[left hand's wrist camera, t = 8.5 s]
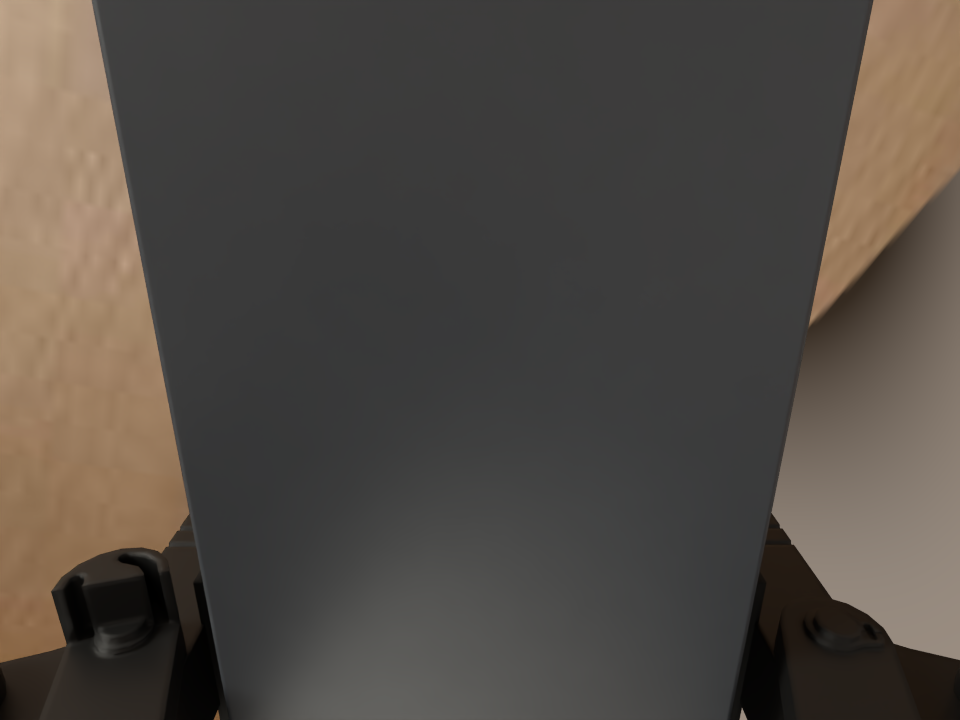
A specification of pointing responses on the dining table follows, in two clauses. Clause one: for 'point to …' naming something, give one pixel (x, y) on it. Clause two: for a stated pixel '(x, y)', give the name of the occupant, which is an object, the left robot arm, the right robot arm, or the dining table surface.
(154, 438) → the dining table surface
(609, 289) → the bar
